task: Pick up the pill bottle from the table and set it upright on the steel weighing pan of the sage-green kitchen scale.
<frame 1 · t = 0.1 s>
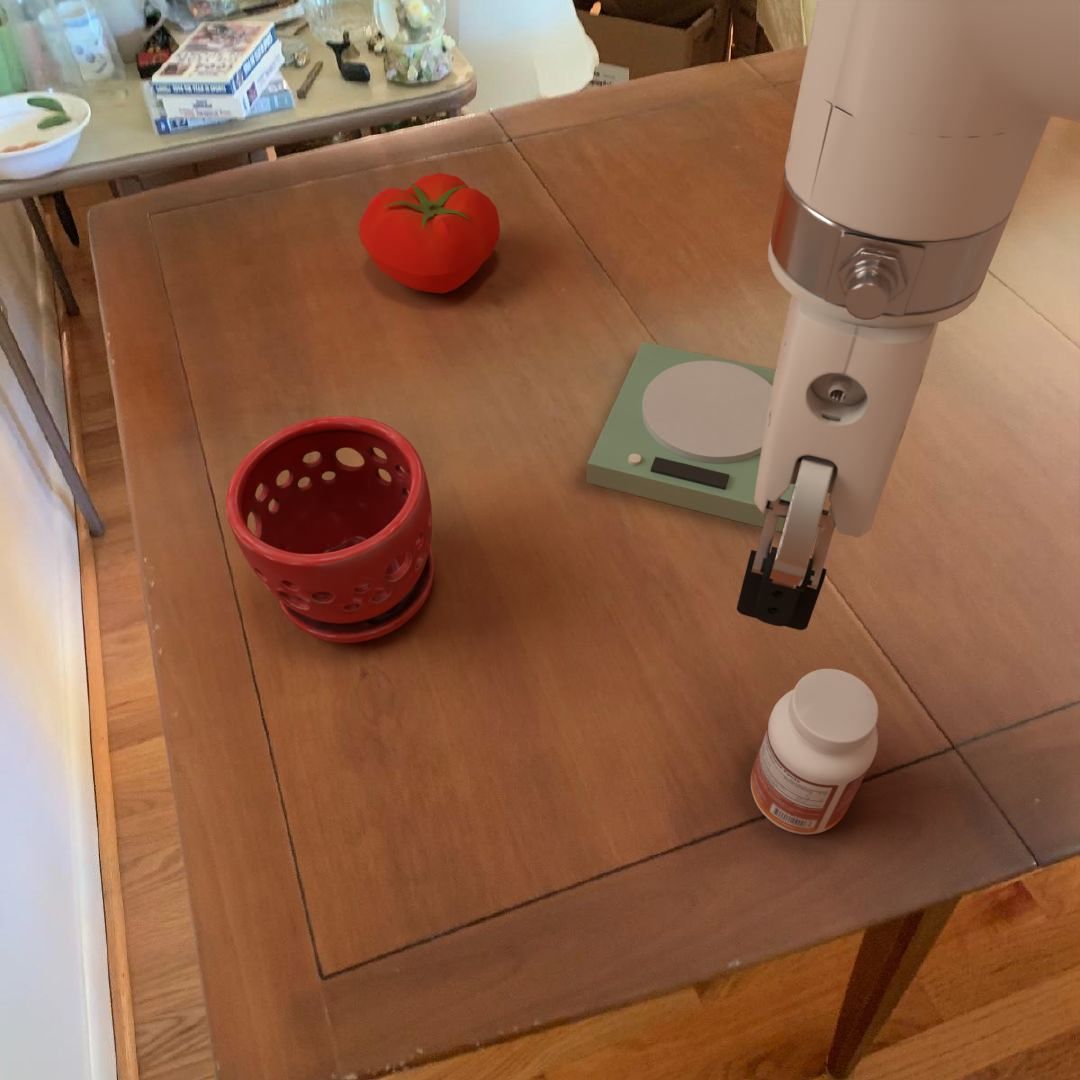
hand: (791, 539, 47), 22 cm above the table, tool pointing down, fingers open, 9 cm apart
flower pot: (354, 591, 73), on the table
scale: (705, 440, 82), on the table
pill bottle: (796, 792, 62), on the table
tomato: (436, 277, 98), on the table
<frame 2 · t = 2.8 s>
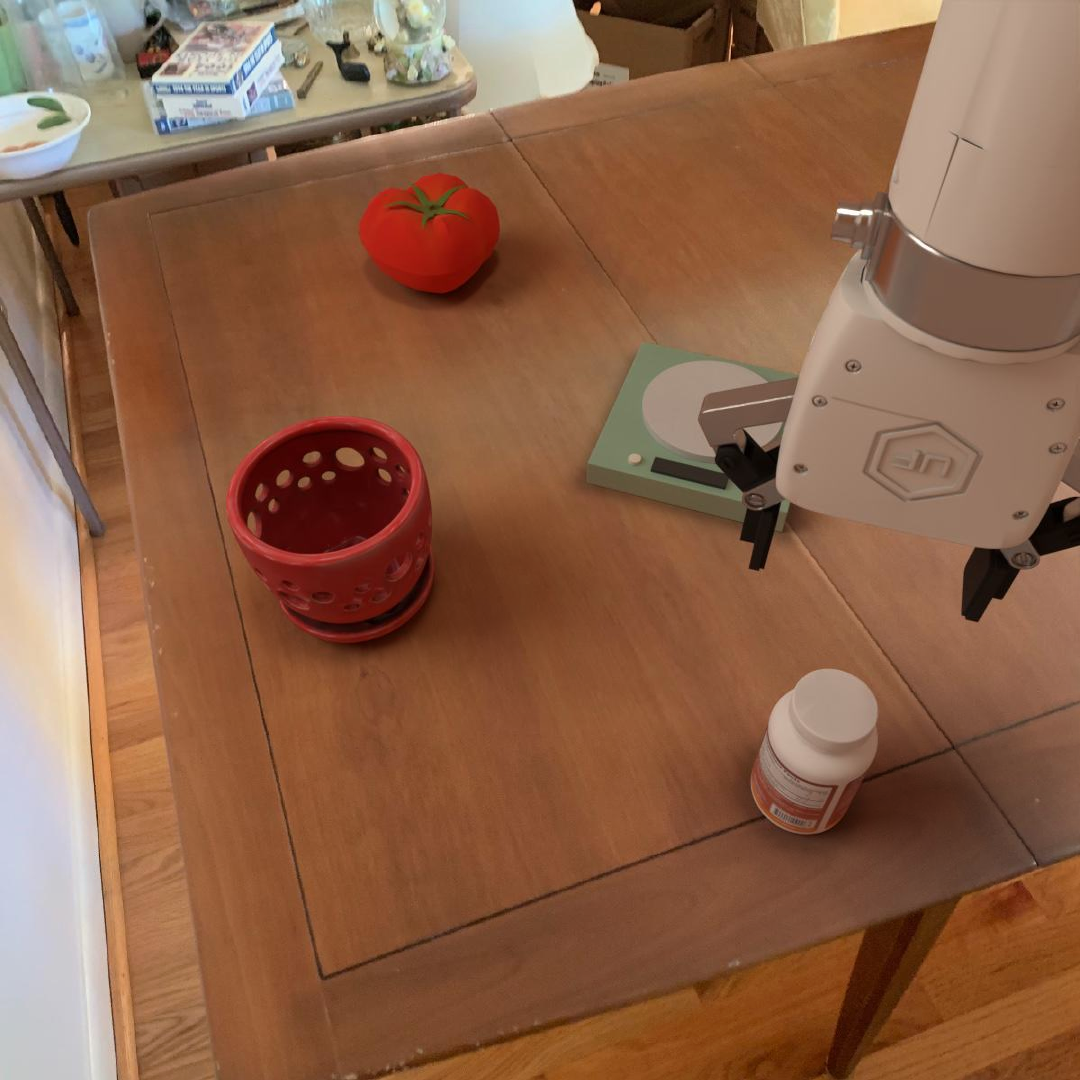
hand: (862, 571, 46), 22 cm above the table, tool pointing down, fingers open, 9 cm apart
nothing on the table moved.
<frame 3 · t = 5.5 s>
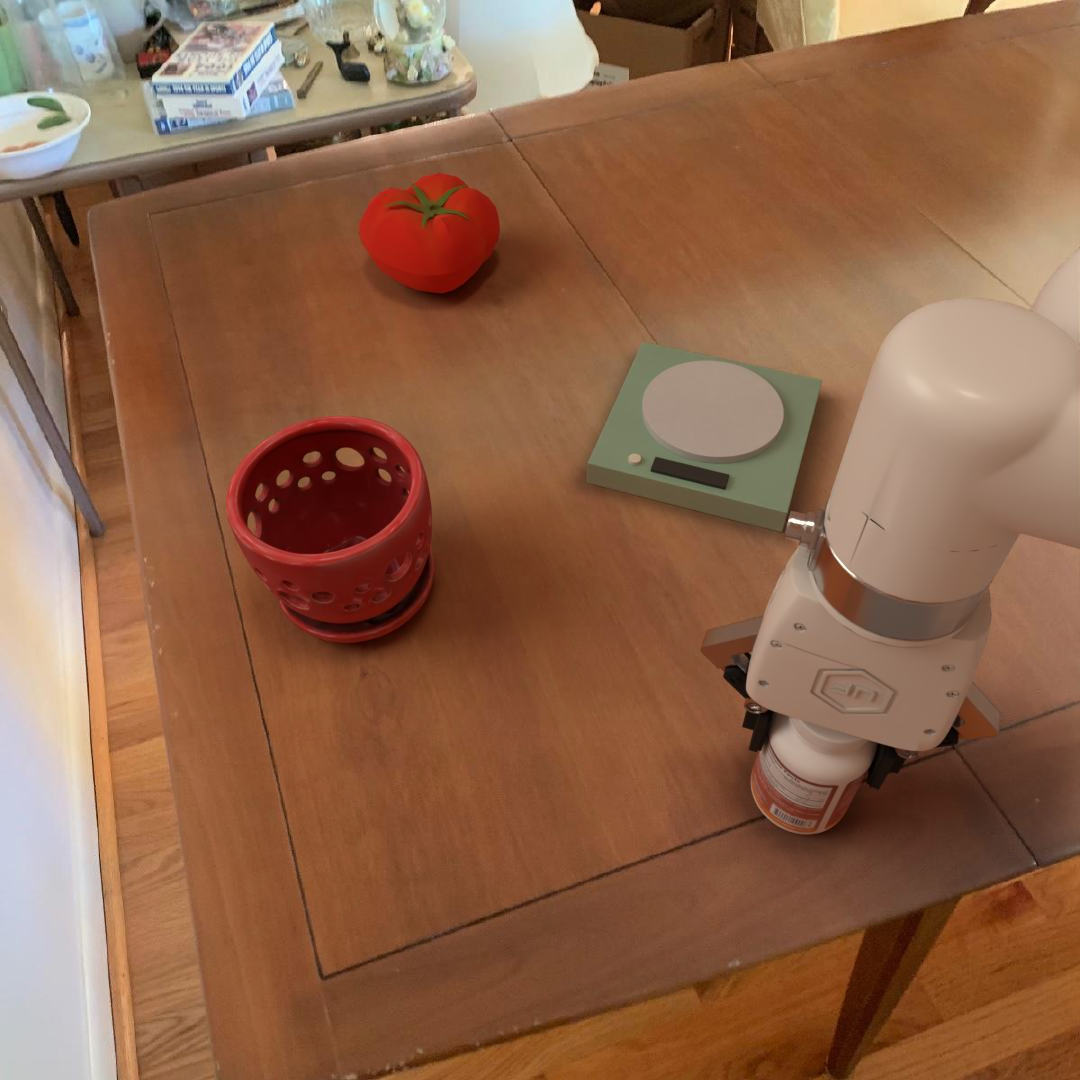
hand: (816, 747, 57), 6 cm above the table, tool pointing down, fingers closed on pill bottle, 6 cm apart
pill bottle: (796, 792, 62), on the table, touching gripper
everything else where it was.
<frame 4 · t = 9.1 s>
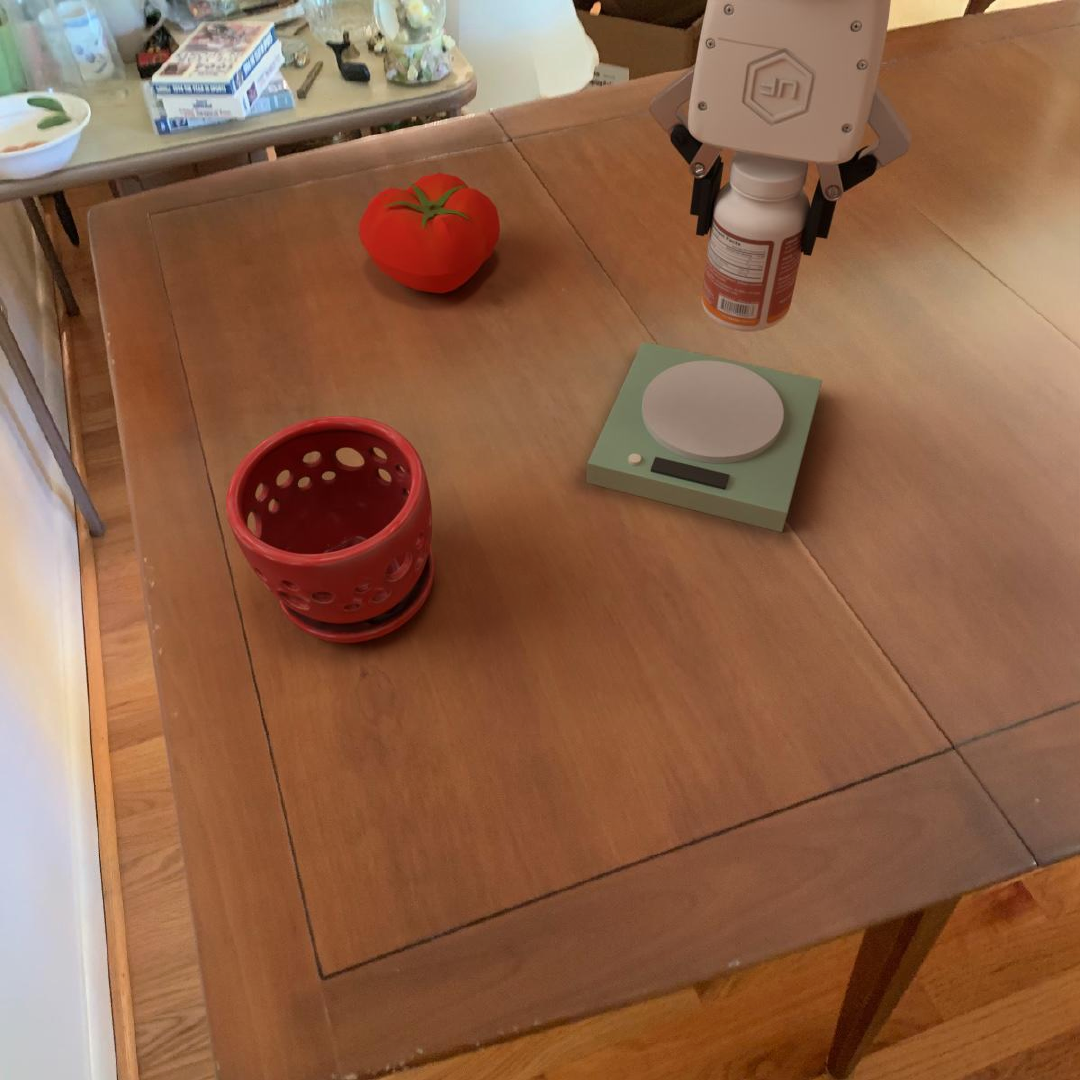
hand: (757, 232, 64), 22 cm above the table, tool pointing down, fingers closed on pill bottle, 6 cm apart
pill bottle: (743, 309, 69), point 15 cm above the table, touching gripper
everything else where it was.
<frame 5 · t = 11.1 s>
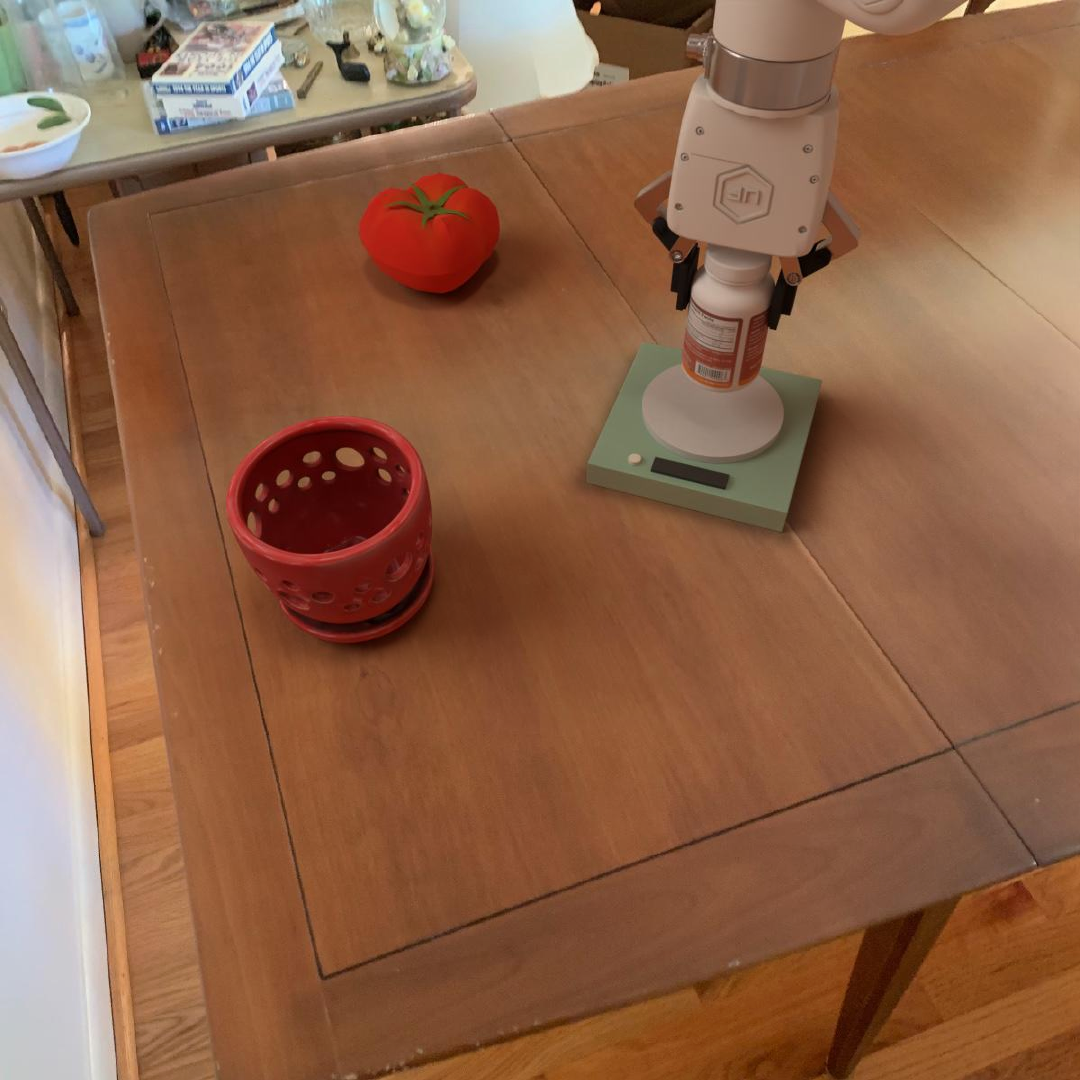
hand: (729, 307, 73), 13 cm above the table, tool pointing down, fingers closed on pill bottle, 6 cm apart
pill bottle: (719, 371, 77), point 7 cm above the table, touching gripper
everything else where it was.
when the fingers open (9 cm above the table, at t = 12.6 s): pill bottle stays where it is, resting on scale.
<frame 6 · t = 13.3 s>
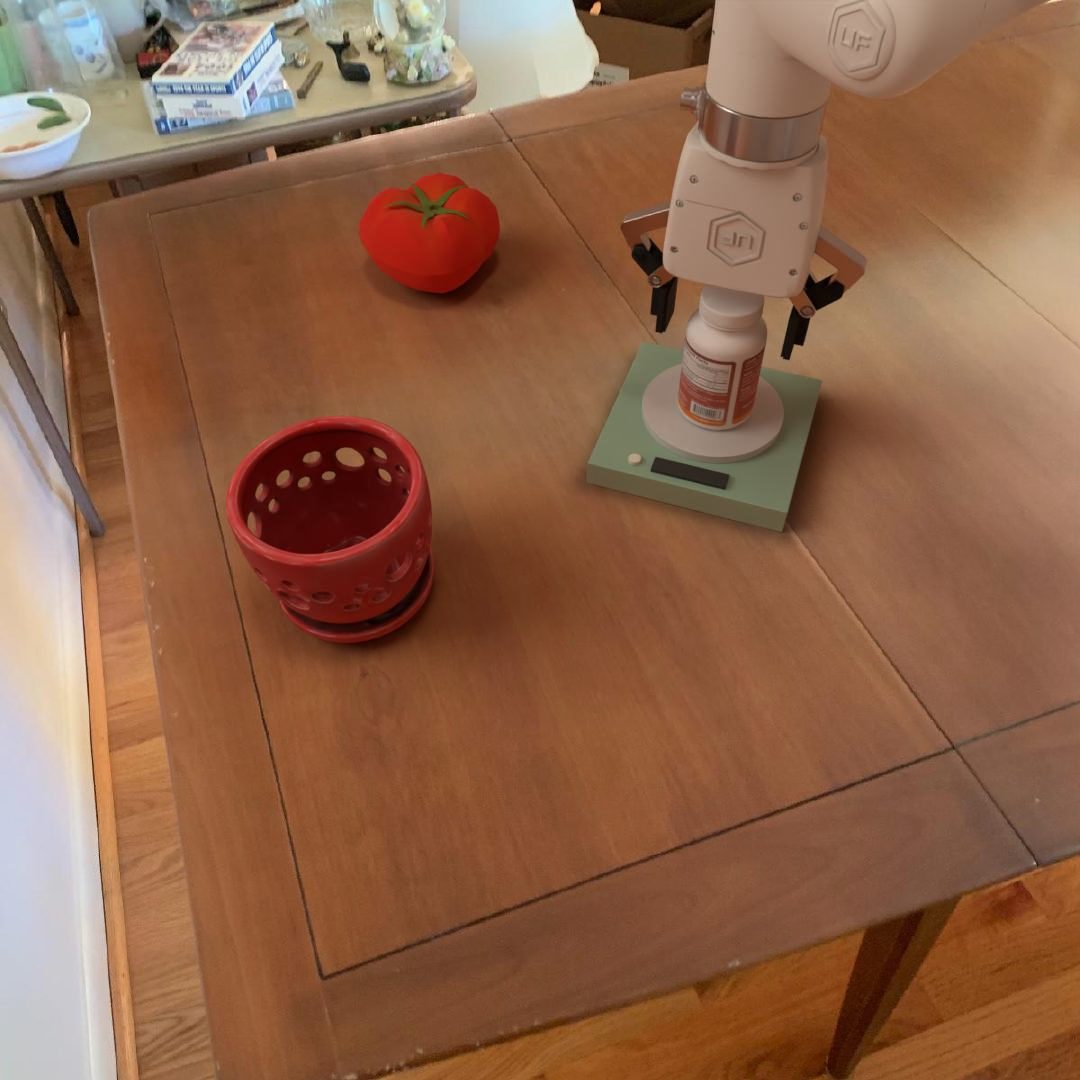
hand: (725, 335, 74), 11 cm above the table, tool pointing down, fingers open, 9 cm apart
pill bottle: (713, 409, 80), point 3 cm above the table, touching scale
everything else where it was.
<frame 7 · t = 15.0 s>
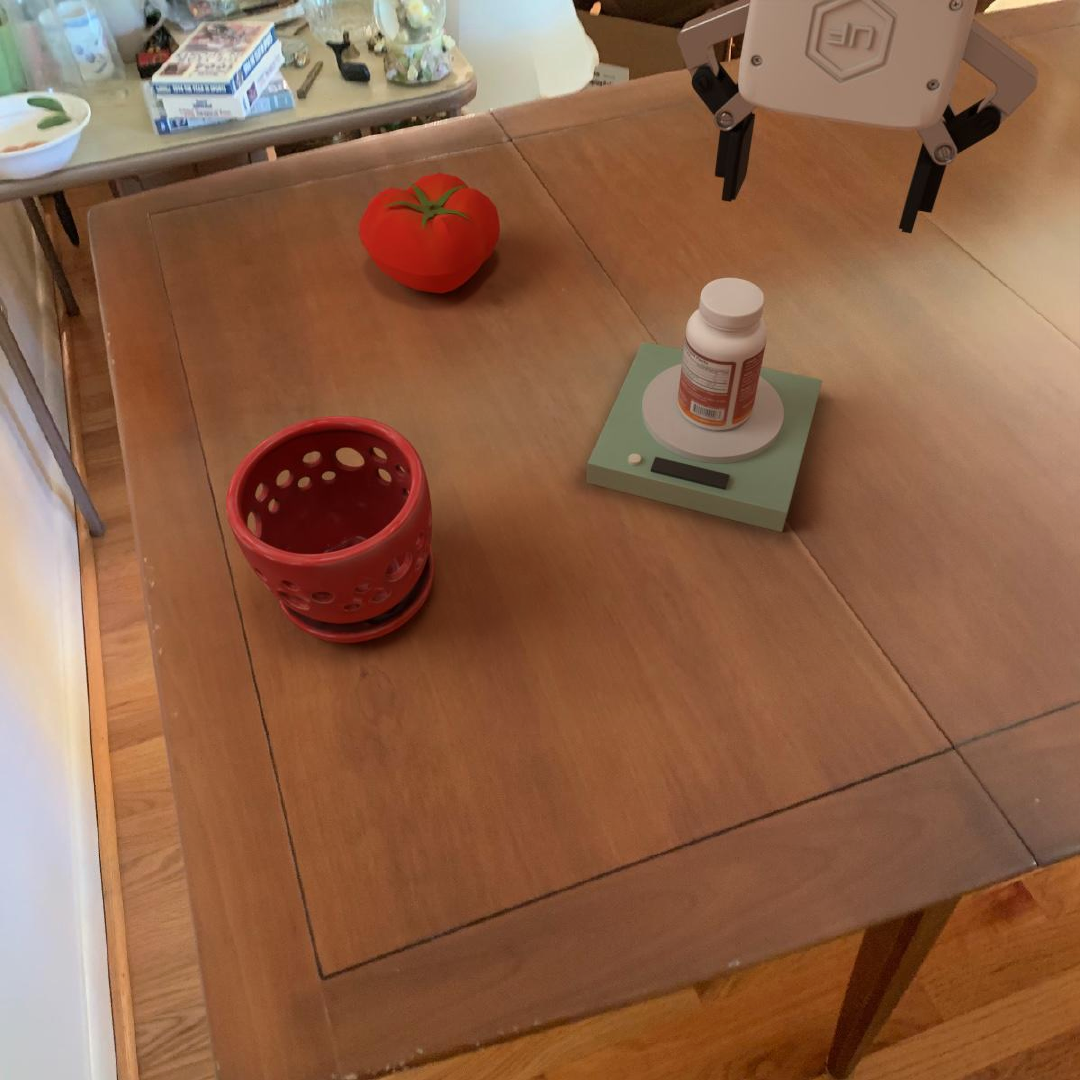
hand: (818, 204, 54), 28 cm above the table, tool pointing down, fingers open, 9 cm apart
nothing on the table moved.
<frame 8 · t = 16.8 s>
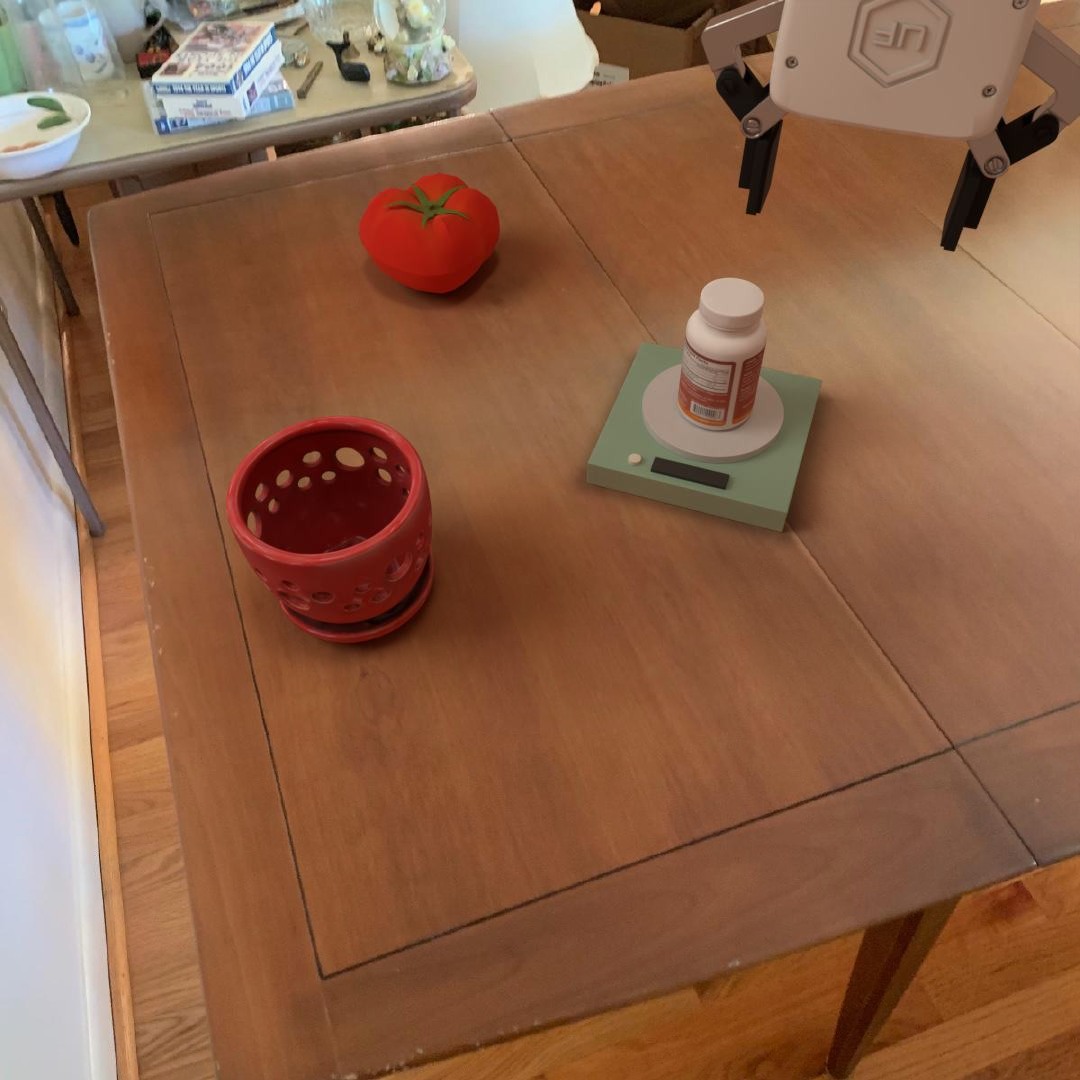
hand: (851, 218, 50), 30 cm above the table, tool pointing down, fingers open, 9 cm apart
nothing on the table moved.
at the end: pill bottle inside the target area on the scale (0.1 cm from its centre), point 3.0 cm above the scale's base; pill bottle tilted 0°; the gripper is holding nothing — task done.
